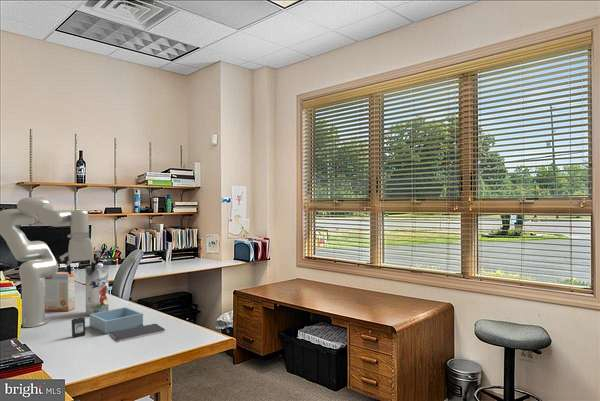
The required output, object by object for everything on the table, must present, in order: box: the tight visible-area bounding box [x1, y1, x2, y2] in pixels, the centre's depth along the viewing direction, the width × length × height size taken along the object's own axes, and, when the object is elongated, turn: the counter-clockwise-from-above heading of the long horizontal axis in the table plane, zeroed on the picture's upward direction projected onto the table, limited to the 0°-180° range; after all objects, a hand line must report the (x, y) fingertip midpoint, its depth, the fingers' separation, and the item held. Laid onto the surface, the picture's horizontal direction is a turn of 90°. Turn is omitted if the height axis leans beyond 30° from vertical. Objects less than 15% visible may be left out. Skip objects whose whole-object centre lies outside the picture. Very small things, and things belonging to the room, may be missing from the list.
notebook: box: [109, 323, 166, 342], centre depth 192 cm, size 13×2×21 cm
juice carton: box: [84, 262, 110, 316], centre depth 225 cm, size 9×10×27 cm
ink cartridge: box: [71, 317, 86, 339], centre depth 188 cm, size 5×2×8 cm, turn 131°
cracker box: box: [44, 271, 76, 312], centre depth 232 cm, size 14×6×21 cm, turn 84°
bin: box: [89, 306, 144, 336], centre depth 203 cm, size 18×18×6 cm
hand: (81, 272), depth 196 cm, fingers open, 9 cm apart
